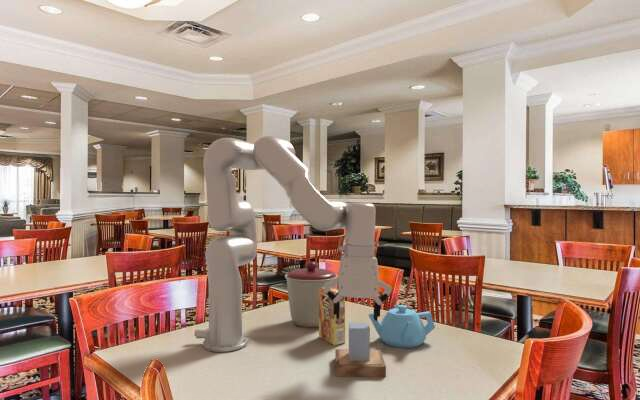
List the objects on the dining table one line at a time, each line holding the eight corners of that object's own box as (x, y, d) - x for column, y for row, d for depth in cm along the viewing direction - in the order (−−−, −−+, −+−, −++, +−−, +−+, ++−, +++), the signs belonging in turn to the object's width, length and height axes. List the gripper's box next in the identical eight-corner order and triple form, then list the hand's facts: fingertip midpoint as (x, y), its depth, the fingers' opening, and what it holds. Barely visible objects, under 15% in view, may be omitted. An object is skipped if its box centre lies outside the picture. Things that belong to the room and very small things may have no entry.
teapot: (409, 355, 115) (410, 316, 115) (366, 341, 126) (366, 305, 126) (437, 341, 126) (437, 305, 126) (395, 330, 137) (395, 297, 137)
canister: (274, 322, 144) (274, 261, 144) (313, 312, 157) (313, 256, 156) (308, 335, 131) (308, 268, 131) (348, 323, 143) (348, 262, 143)
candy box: (346, 343, 124) (346, 291, 124) (334, 345, 122) (334, 293, 122) (329, 335, 131) (329, 286, 131) (317, 337, 129) (317, 287, 129)
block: (349, 360, 104) (349, 328, 104) (348, 353, 109) (348, 322, 109) (369, 360, 104) (369, 328, 104) (367, 353, 109) (368, 322, 109)
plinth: (335, 376, 101) (336, 365, 101) (335, 358, 112) (335, 348, 112) (385, 376, 101) (385, 365, 101) (380, 359, 112) (380, 349, 112)
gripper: (324, 252, 103) (322, 321, 103) (395, 255, 102) (392, 324, 103) (325, 248, 110) (322, 312, 111) (391, 250, 110) (388, 315, 110)
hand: (356, 318), depth 107 cm, fingers open, 9 cm apart
